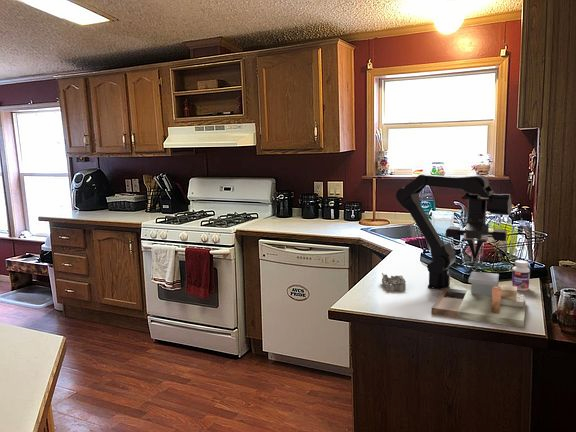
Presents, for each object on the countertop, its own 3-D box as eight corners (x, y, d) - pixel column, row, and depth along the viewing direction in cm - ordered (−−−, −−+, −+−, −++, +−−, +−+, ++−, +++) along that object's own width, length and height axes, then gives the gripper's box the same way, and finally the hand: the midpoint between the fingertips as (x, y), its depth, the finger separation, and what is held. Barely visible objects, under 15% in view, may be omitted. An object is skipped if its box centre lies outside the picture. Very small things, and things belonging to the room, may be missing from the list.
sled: (490, 311, 134) (491, 288, 133) (495, 295, 147) (496, 274, 146) (522, 315, 130) (523, 292, 129) (523, 299, 144) (525, 277, 143)
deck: (431, 313, 140) (431, 307, 140) (443, 293, 159) (443, 287, 158) (523, 327, 129) (523, 320, 128) (525, 303, 147) (525, 297, 147)
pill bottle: (511, 290, 160) (513, 262, 159) (511, 285, 165) (512, 259, 164) (529, 291, 158) (530, 264, 157) (528, 287, 163) (529, 260, 161)
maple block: (499, 303, 142) (500, 289, 142) (500, 298, 146) (501, 285, 145) (515, 305, 140) (516, 291, 139) (516, 300, 144) (517, 286, 143)
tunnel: (467, 300, 145) (468, 278, 144) (471, 292, 153) (472, 271, 152) (495, 304, 141) (496, 281, 140) (497, 295, 149) (498, 274, 148)
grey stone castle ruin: (380, 283, 173) (380, 272, 172) (401, 282, 173) (401, 272, 172) (385, 291, 163) (385, 280, 162) (407, 291, 162) (407, 280, 162)
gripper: (443, 215, 152) (442, 261, 154) (506, 218, 143) (503, 267, 145) (449, 210, 161) (447, 254, 164) (508, 213, 153) (505, 259, 155)
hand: (474, 258), depth 157 cm, fingers closed
